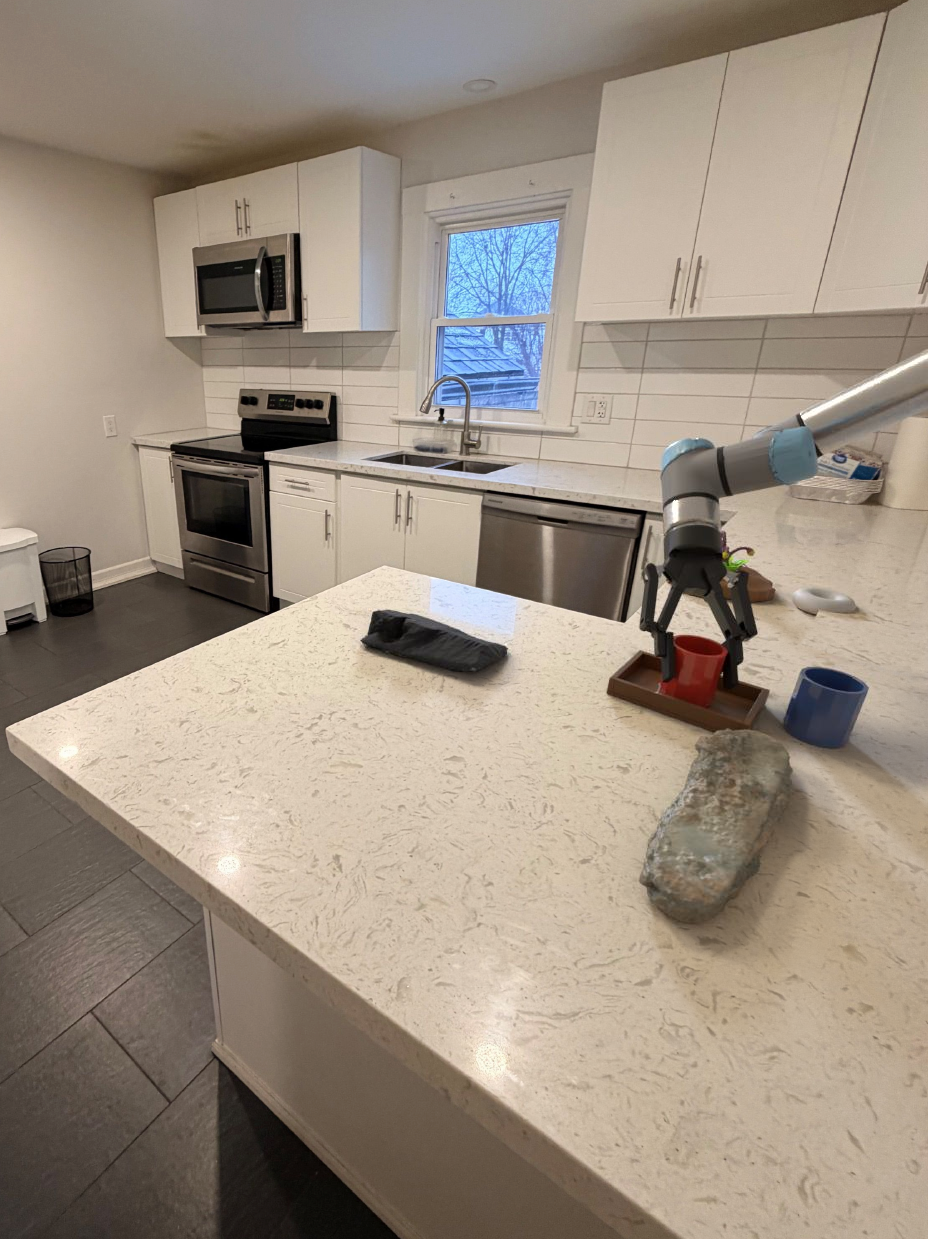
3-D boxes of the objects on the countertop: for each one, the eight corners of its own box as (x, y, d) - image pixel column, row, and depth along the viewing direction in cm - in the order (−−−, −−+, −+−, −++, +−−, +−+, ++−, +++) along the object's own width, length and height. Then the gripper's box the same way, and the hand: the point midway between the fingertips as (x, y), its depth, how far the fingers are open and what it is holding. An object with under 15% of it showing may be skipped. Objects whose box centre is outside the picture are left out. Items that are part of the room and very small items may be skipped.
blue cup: (850, 732, 84) (871, 679, 81) (843, 755, 80) (865, 699, 77) (787, 712, 89) (805, 661, 86) (777, 733, 84) (796, 679, 81)
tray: (764, 705, 90) (770, 689, 89) (744, 742, 82) (749, 725, 81) (636, 664, 101) (639, 649, 100) (606, 693, 93) (609, 677, 92)
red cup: (718, 695, 92) (733, 645, 88) (705, 714, 87) (720, 662, 84) (666, 678, 96) (679, 630, 93) (651, 695, 91) (663, 645, 88)
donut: (785, 610, 124) (849, 624, 118) (790, 594, 123) (855, 607, 116) (794, 597, 131) (855, 609, 124) (799, 581, 129) (861, 593, 123)
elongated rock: (605, 897, 60) (721, 967, 54) (618, 857, 58) (741, 926, 52) (711, 730, 83) (801, 766, 77) (723, 697, 81) (817, 731, 75)
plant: (749, 573, 143) (763, 525, 139) (785, 605, 126) (803, 551, 121) (653, 565, 147) (664, 517, 143) (675, 595, 130) (688, 542, 125)
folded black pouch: (470, 688, 93) (474, 659, 91) (351, 643, 106) (352, 617, 104) (515, 653, 104) (519, 626, 102) (402, 616, 117) (404, 592, 115)
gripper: (753, 552, 97) (767, 699, 88) (613, 541, 100) (613, 682, 92) (779, 527, 90) (796, 684, 81) (627, 517, 93) (629, 666, 85)
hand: (699, 682), depth 87 cm, fingers closed on red cup, 7 cm apart
